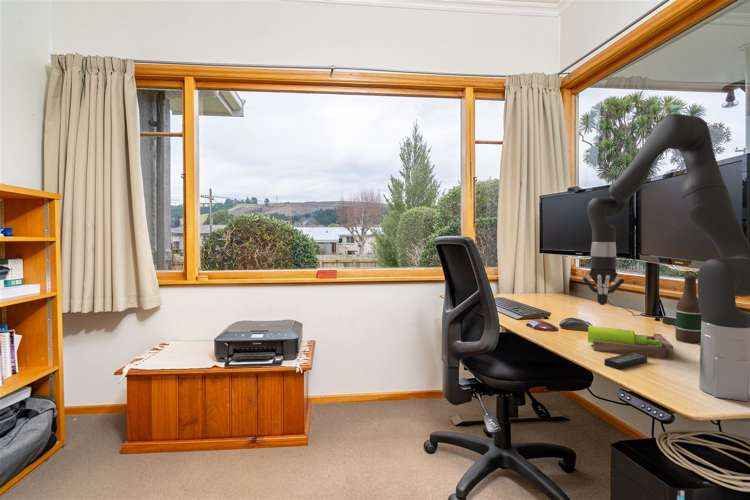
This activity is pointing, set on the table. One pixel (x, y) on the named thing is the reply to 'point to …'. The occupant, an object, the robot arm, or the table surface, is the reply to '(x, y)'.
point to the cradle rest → (637, 347)
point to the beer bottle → (688, 314)
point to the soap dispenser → (618, 336)
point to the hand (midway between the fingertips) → (602, 304)
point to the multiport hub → (625, 360)
